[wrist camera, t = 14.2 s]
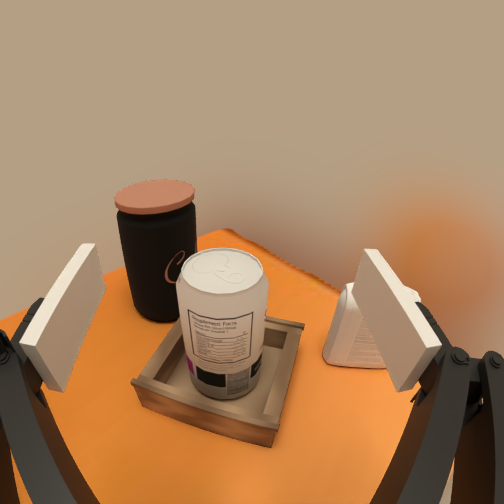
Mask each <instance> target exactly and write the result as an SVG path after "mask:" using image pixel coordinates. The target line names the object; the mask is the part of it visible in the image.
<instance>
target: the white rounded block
mask: <svg viewBox="0 0 504 504" xmlns="http://www.w3.org/2000/svg"><path fill="white" fill-rule="evenodd" d="M353 285H354V282H353V283H348V284H345V286H344V287H343V290H342V293H341V295H340V297H339V300H338V303H337V307H336V310H335V314H334V317H333V320H332V324H331V327H330V330H329V333H328V336H327V340H326V343H325V346H324V349H323V358H324V360H325V361H326V362H327V363H328V364H332V365H338V366H348V367H362V368H386V365H385V363H384V361H383V359H382V357H381V354H380V352H379V350H378V348H377V346H376V343H375V341H374V339H373V337H372V335H371V333H370V330H369V328H368V326H367V324H366V322H365V320H364V318H363V316H362V314H361V312H360V310H359V308H358V306H357V304H356V301H355V299H354V297H353V295H352V293H351V291H352V288H353ZM404 287H405V286H404ZM405 289H406V290H407V292H408V293H409V295H410V296H411V297H412V299H413V300H414V302H420V303H421V299H420V297H419V296H418V292H416V291H414V290H412V289H410V288H408V287H405Z"/></svg>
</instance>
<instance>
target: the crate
mask: <svg viewBox="0 0 504 504" xmlns="http://www.w3.org/2000/svg"><path fill="white" fill-rule="evenodd" d="M304 325H305V324H303V323H298V322H293V321H288V320H283V319H278V318H273V317H269V316H266V320H265V330H264V340H263V349H262V358H261V367H260V376H259V379H258V381H257V383H256V385H255V387H253V388H252V389H251V390H250V391H249V392H247V393H246V394H244V395H242V396H239V397H236V398H232V399H218V398H214V397H210V396H207V395H205V394H204V393H202V392H201V391H199V390H198V389H197V388H196V387H195V385H194V384H193V383H192V381H191V378H190V374H189V369H188V363H187V357H186V351H185V345H184V339H183V333H182V326H181V319H180V317H179V318H178V320H177V321H176V323H175V324H174V326H173V327H172V328H171V330H170V331H169V333H168V334H167V336H166V337H165V339H164V340H163V341H162V343H161V344H160V346H159V347H158V349H157V350H156V352H155V353H154V355H153V356H152V357H151V359H150V360H149V362H148V363H147V365H146V366H145V368H144V369H143V371H142V372H141V374H140V375H139V377H138V378H137V379H134V378H133V379H132V380H131V385H132V386H134V389H135V391H136V393H137V395H138V398H139V400H140V402H141V404H142V406H143V407H146V408H148V409H150V410H153V411H155V412H158V413H160V414H162V415H165V416H168V417H170V418H173V419H175V420H178V421H181V422H184V423H186V424H189V425H192V426H195V427H198V428H201V429H204V430H207V431H210V432H213V433H216V434H220V435H223V436H226V437H230V438H233V439H237V440H241V441H244V442H248V443H252V444H256V445H260V446H264V447H269V448H271V446H272V443H273V439H274V436H275V433H276V432H278V429H279V425H280V424H278V422H279V419H280V415H281V412H282V408H283V404H284V401H285V397H286V393H287V389H288V386H289V382H290V378H291V374H292V370H293V366H294V362H295V358H296V354H297V350H298V345H299V341H300V336H301V332H302V330H304Z"/></svg>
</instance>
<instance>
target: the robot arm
mask: <svg viewBox="0 0 504 504" xmlns="http://www.w3.org/2000/svg"><path fill="white" fill-rule="evenodd" d="M105 291H106V286H105V283H104V279H103V274H102V271H101V266H100V262H99V258H98V253H97V248H96V244H82V245H81V246H80V248H79V249H78V250H77V252H76V253H75V255H74V256H73V257H72V259H71V260H70V261H69V263H68V264H67V266H66V267H65V269H64V270H63V272H62V273H61V275H60V276H59V278H58V279H57V280H56V282H55V284H54V285H53V287H52V288H51V290H50V291H49V293H48V294H47V296H46V298H39V299H38V300H37V301H36V302H35V303H33V304H32V305H31V307H30V309H29V310H28V312H27V315H25V317H24V318H23V322H21V323H20V325H19V327H18V328H17V330H16V332H15V334H14V335H13V337H12V339H11V341H10V340H9V338H8V337H7V335H6V333H5V332H4V331H3V330H1V329H0V504H20V501H19V497H18V493H17V488H16V483H15V478H14V472H13V466H12V459H11V452H12V455H13V457H14V460H15V463H16V465H17V468H18V471H19V473H20V476H21V478H22V480H23V483H24V485H25V487H26V490H27V492H28V494H29V496H30V498H31V500H32V502H33V504H100V503H99V501H98V500H97V498H96V497H95V495H94V494H93V492H92V490H91V489H90V487H89V486H88V484H87V482H86V481H85V479H84V477H83V476H82V474H81V472H80V470H79V469H78V467H77V465H76V463H75V461H74V459H73V457H72V456H71V454H70V452H69V450H68V448H67V446H66V444H65V442H64V440H63V438H62V436H61V433H60V431H59V429H58V427H57V425H56V422H55V420H54V418H53V415H52V413H51V411H50V408H49V406H48V403H47V401H46V398H45V396H44V393H43V391H42V390H41V388H40V387H41V384H42V382H44V383H45V384H46V386H47V387H48V389H50V390H54V391H58V392H63V393H64V392H65V389H66V386H67V383H68V380H69V377H70V374H71V372H72V369H73V366H74V364H75V361H76V358H77V356H78V353H79V351H80V348H81V346H82V343H83V341H84V338H85V336H86V334H87V331H88V329H89V326H90V324H91V322H92V319H93V317H94V315H95V313H96V310H97V308H98V306H99V304H100V301H101V299H102V297H103V295H104V293H105ZM351 293H352V295H353V297H354V299H355V301H356V304H357V306H358V308H359V310H360V312H361V314H362V316H363V318H364V320H365V322H366V324H367V326H368V328H369V330H370V333H371V335H372V337H373V339H374V341H375V343H376V346H377V348H378V350H379V352H380V354H381V357H382V359H383V361H384V363H385V365H386V368H387V370H388V372H389V375H390V377H391V379H392V382H393V384H394V386H395V389H396V391H397V392H402V391H406V390H411V389H412V388H413V387H414V386H415V384H416V383H417V381H419V383H420V385H421V388H420V389H419V390H418V392H417V393H416V394H415V395H414V397H413V398H412V399H411V401H410V402H413V401H414V400H415V402H414V405H413V408H412V411H411V413H410V416H409V419H408V422H407V424H406V427H405V429H404V432H403V434H402V437H401V439H400V442H399V444H398V447H397V449H396V451H395V453H394V456H393V458H392V460H391V462H390V465H389V467H388V469H387V471H386V473H385V475H384V477H383V479H382V481H381V483H380V485H379V487H378V489H377V491H376V493H375V495H374V496H373V498H372V500H371V502H370V504H439V502H440V500H441V497H442V494H443V491H444V489H445V486H446V483H447V480H448V477H449V474H450V470H451V467H452V464H453V460H454V474H453V486H452V494H451V502H450V504H504V359H503V357H502V356H501V355H500V354H498V353H497V352H494V351H488V352H486V353H485V355H484V356H483V358H482V359H476V358H470V357H469V355H468V354H467V353H466V352H465V351H464V350H463V349H461V348H458V347H452V346H451V344H450V342H449V341H448V339H447V337H446V336H445V334H444V333H443V331H442V330H441V328H440V327H439V325H437V322H436V321H435V319H434V318H433V316H432V315H431V313H430V312H429V310H428V309H427V308H426V307H425V306H424V305H423V304H421V303H420V302H414V300H413V299H412V297H411V296H410V295H409V293H408V292H407V290H406V289H405V287H404V286H403V284H402V283H401V282H400V280H399V279H398V277H397V276H396V275H395V273H394V272H393V271H392V269H391V268H390V266H389V265H388V264H387V262H386V261H385V259H384V258H383V257H382V256H381V254H380V253H379V251H378V250H377V249H364V250H363V254H362V257H361V261H360V264H359V268H358V271H357V275H356V278H355V282H354V285H353V288H352V291H351ZM482 398H483V404H482V400H481V399H482ZM10 449H11V452H10ZM454 456H455V459H454Z"/></svg>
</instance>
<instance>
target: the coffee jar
mask: <svg viewBox="0 0 504 504" xmlns="http://www.w3.org/2000/svg"><path fill="white" fill-rule="evenodd" d="M194 191H195V189H194V188H193V186H192V185H191V184H188V183H186V182H182V181H177V180H152V181H145V182H141V183H137V184H134V185H131V186H128V187H126V188H124V189H122V190H121V191H119V192H118V193H117V194H116V195H115V197H114V200H115V205H116V207H117V208H118V209H119V211H118V213H117V221H118V227H119V234H120V239H121V245H122V251H123V256H124V261H125V266H126V271H127V276H128V280H129V285H130V289H131V294H132V298H133V302H134V306H135V307H136V308H137V310H138V311H139V312H140V313H141V314H143V315H144V316H145V317H147V318H149V319H151V320H155V321H159V322H170V321H174V320H178V318H179V317H180V312H179V305H178V297H177V290H176V282H177V280H178V277H179V275H180V273H181V269H182V267H183V264H184V262H185V261H186V260H187V259H188V258H189V257H190V256H192V255H194V254H196V253H197V237H196V215H195V213H196V212H195V205H194V204H193V202H192V200H193V199H194Z"/></svg>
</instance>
